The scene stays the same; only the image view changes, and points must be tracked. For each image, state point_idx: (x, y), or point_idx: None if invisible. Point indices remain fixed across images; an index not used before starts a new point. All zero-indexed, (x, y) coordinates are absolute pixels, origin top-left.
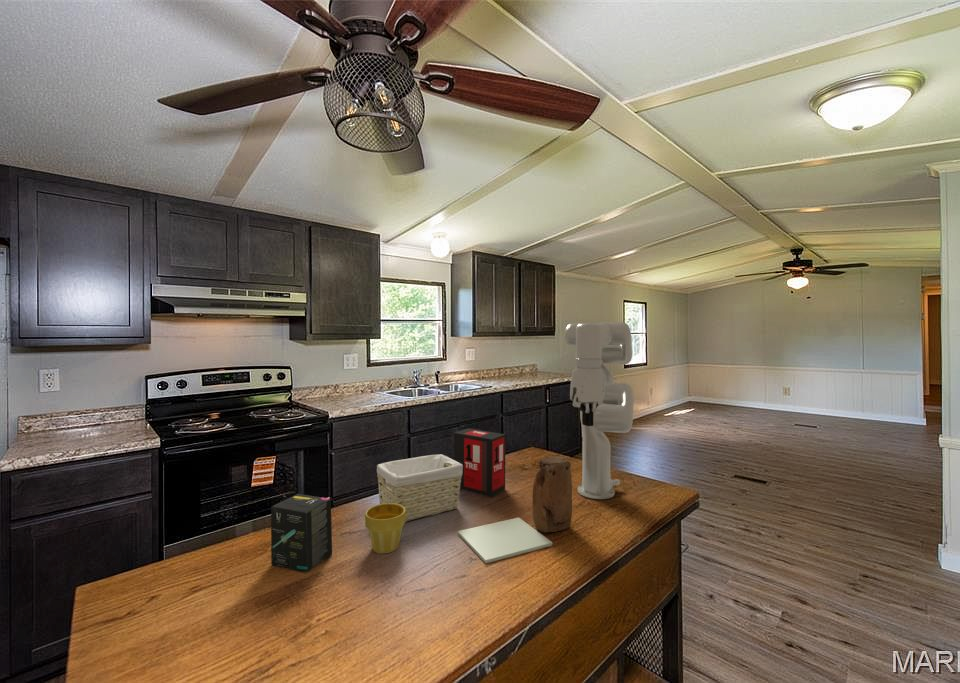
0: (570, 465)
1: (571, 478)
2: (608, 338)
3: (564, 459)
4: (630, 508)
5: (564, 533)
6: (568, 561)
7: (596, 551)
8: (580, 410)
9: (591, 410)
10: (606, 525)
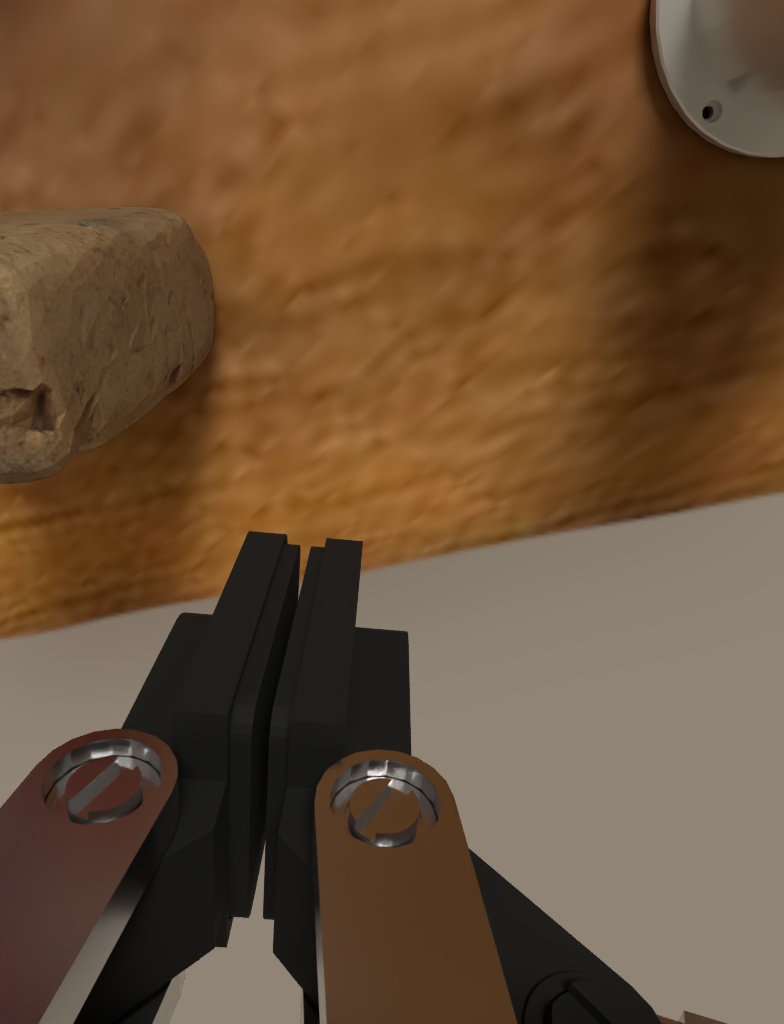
0: (54, 473)
1: (114, 435)
2: None
3: (26, 391)
4: (716, 345)
5: None
6: (15, 559)
7: (175, 564)
8: (47, 760)
9: (306, 964)
10: (407, 423)
